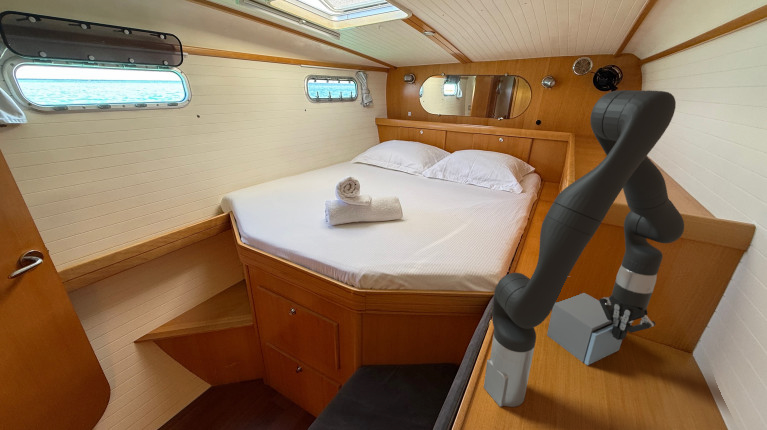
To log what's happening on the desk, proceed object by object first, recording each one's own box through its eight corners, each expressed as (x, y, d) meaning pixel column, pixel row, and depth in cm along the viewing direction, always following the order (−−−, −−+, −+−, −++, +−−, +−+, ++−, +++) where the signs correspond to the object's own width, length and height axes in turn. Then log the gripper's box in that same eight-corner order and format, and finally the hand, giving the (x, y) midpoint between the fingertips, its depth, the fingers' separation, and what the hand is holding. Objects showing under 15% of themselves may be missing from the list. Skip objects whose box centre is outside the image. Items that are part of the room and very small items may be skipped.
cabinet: (582, 362, 86) (592, 328, 81) (546, 335, 96) (553, 303, 92) (614, 347, 91) (624, 314, 86) (576, 323, 101) (584, 292, 97)
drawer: (587, 365, 84) (595, 335, 81) (551, 338, 95) (557, 310, 91) (618, 350, 89) (628, 321, 86) (581, 325, 100) (588, 298, 96)
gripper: (674, 294, 72) (653, 350, 78) (616, 268, 84) (601, 319, 89) (656, 301, 69) (635, 359, 75) (598, 274, 81) (584, 326, 87)
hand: (617, 337), depth 82 cm, fingers closed
